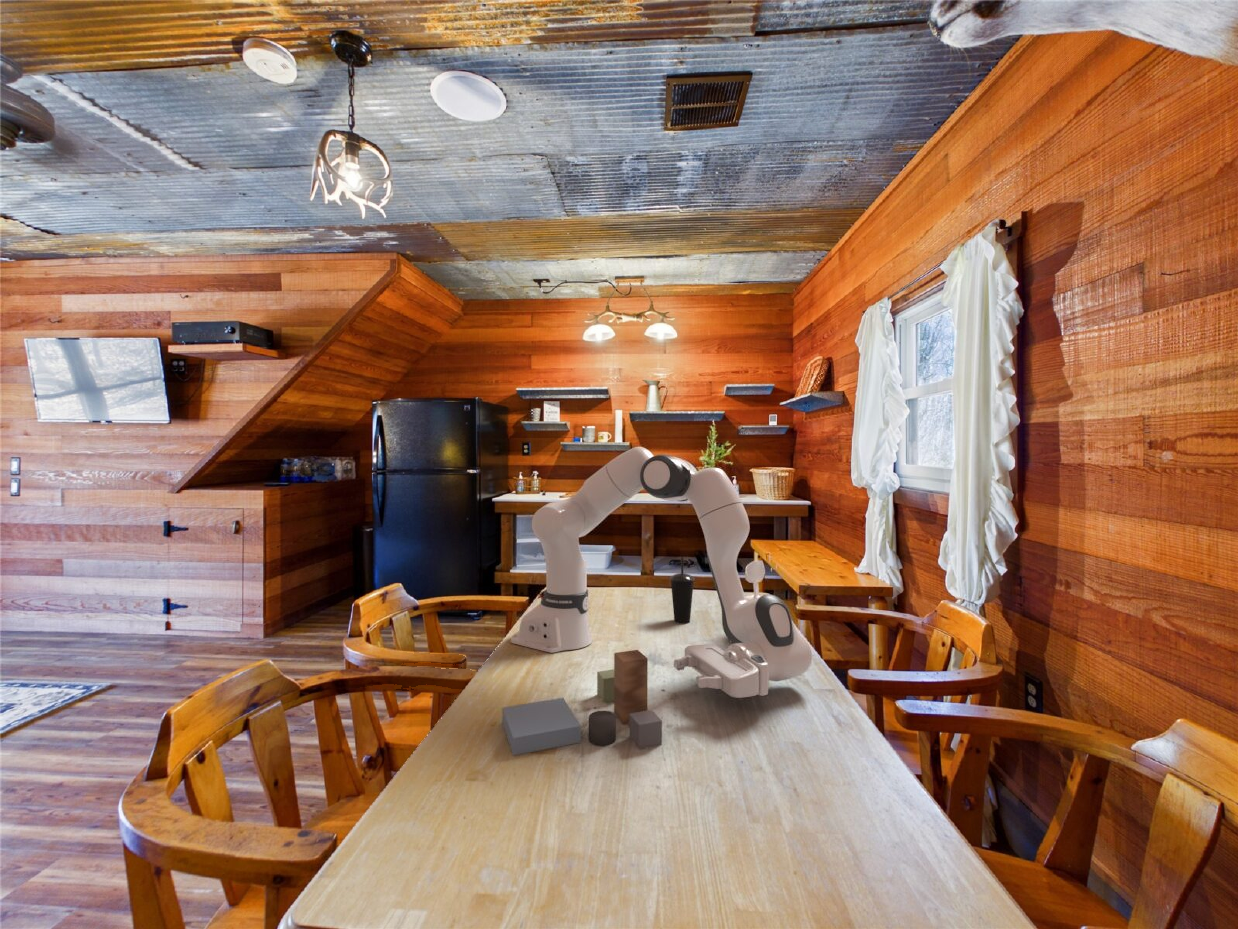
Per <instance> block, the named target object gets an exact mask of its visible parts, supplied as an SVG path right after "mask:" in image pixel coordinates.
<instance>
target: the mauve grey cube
mask: <svg viewBox="0 0 1238 929" xmlns="http://www.w3.org/2000/svg"><path fill="white" fill-rule="evenodd" d="M628 726H629V728H628V729H629V732H628V733H629V734H628V738H629V739H630V740H631V742H633V744H634V745H635V747H636V748H637V749H638V750H644V749H647V748H653V747H657V746H662V744H663V739H662V737H663V733H662V732H663V720H662V719H661V718H660V717H659V716H658V715H657V713H655V711H654V710H653V709H649V710H648V709H647V711H642V712H636V713H631V714H629V725H628Z"/></svg>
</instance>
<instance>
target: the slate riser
mask: <svg viewBox="0 0 1238 929" xmlns="http://www.w3.org/2000/svg"><path fill="white" fill-rule="evenodd" d="M501 708H502V711H501V713H502V716H501V717H502V720H501V722H502V723H501V724H502V726H503V729H504V732H505V734H506V735H505V736H506V738H507V741H508V743H509V747H510V750H511V753H512V755H513V756H518V755H521V754H522V755H525V754H528V753H533V752H539V751H543V750H549V749H554V748H558V747H559V748H560V747H563V746H569V745H575V744H579V743H582V725H581V723H580V722H579V721H578V719H577V717H576V716H575V714H574V713H573V711H572V709H571V708H570V706H569V705H568V703H567V702H566V699H565V698H564V697H560V698H552V699H549V700H548V699H547V700H541V701H535V702H529V703H528V702H527V703H524V704H523V703H522V704H515V705H510V706H504V707H501Z"/></svg>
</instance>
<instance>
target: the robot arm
mask: <svg viewBox="0 0 1238 929" xmlns="http://www.w3.org/2000/svg"><path fill="white" fill-rule="evenodd" d="M643 490H645V492H647V493H648V494H649V495H650V496H652V497H654V498H657V499H660V500H664V501H669V502H688V501H689V503H690V504H691V505H692V507H693V509H694V510H695V513H696V515H697V518H698V521H699V523H700V526H701V529H702V532H703V535H704V540H705V545H706V555H707V557H706V558H707V561H708V567H709V569H710V573H711V576H712V579H713V583H714V587H715V590H716V593H717V597H718V599H719V604H720V607H721V608H720V609H721V621H722V629H723V632H724V634H725V636H726V638H727V639H728V641H730V642H731V644H730V645H728V647H727V649H726V651H725V650H724V649H722V648H720V647H719V646H717V645H714V644H695V645H694V644H693V645H688V646H686V647H685V648H684V656H683V657H681V658H678V659H675V660H673V668H674V669H676V670H677V671H684V670H685V668H686V667H688V668H692V669H694V670H695V671H696V672H697V673H699V674H700V675H697V676H695V685H696V686H697V687H698V688H700V689H705V688H710V689H716V690H718V689H721V691H723V692H724V693H725V694H727V696H729V697H731V698H737V699H742V698H749V697H754V696H757V695H758V696H759V697H763V696H767V695H768V694H769V682H781V681H787V680H790V679H793V678H797V677H800V676H802V675H803V674H805V673H806V672H808V670H809V668H810V667H811V665H812V659H813V652H812V648H811V646H810V643H809V642H808V641H807V639H805V638H804V637H803V636H802V635H801V633H799V631H798V630H797V628H796V626H795V624H794V622H793V619H792V615H791V611H790V609H789V607H788V605H787V604H786V602H785V601H784V600H782V599H781V598H780V597H779V596H777V595H774V594H763V595H759V596H760V597H757V598H754V599H752V600H750V601H747V599H746V598H745V596H746V595H745V592H744V589H743V586H742V582H741V579H740V575H739V572H738V570H737V569H738V568H737V560H738V556H739V553H740V551H741V548H742V547H743V546H744V544H745V542H746V541H747V538H748V536H749V533H750V529H751V528H750V520H749V517H748V512H747V511H746V509H745V505H744V504H743V502H742V499H741V497H740V495H739V493H738V491H737V489H736V488H735V486H734V484H733V483H732V481H731V479H730V477H729V476H728V475H727V473H726V472H725V471H724V470H723V469H721V468H718V467H715V466H714V467H705V468H703V469H701V470H699V469H698V467H697V466H696V465H694V464H693V463H691V462H689V461H687V460H685V459H683V458H680V457H677V456H671V455H669V454H656V455H654V454H653V453H652V452H651V451H650V450H649V449H647V448H645V447H643V446H635V447H632V448H631V449H628V450H626V451H624V452H622V453H621V454H618V455H617V456H616V457H615V458H613V459H611V460H610V461H609V462H607V463H606V464H605V465H604V466H602V467H601V468H599V470H597V471H596V472H595V473H593V474H592V475H591V476H589V477H587V479H586V480H585V481H584V482H583V485H582V486H581V487H580V488H579V489H578V490H577V492H576V493H574V494H573V495H572V496H570V497H569V498H566V499H564V500H559V501H553V502H548V503H547V504H545V505H544V506H542V507H540V508H539V509H537V510H536V511H535V513H534V514H533V516H532V519H531V529H532V531H533V534H534V536H535V537H536V538H537V539H538V540H539V542H540V544H541V547H542V550H543V555H544V558H545V559H544V560H545V572H546V573H545V574H546V575H545V577H546V582H545V583H546V585H545V586H546V588H545V590H543V591H541V592H540V593H539V594H537V596H538V597H537V599H540V603H538V604H537V605H536V606H535V607H534V608H532V609H531V610H530V611H528V612H527V613H526V614H525V615H523V617H522V619H521V620H520V624H519V630H518V631H517V632H515V633H514V634H512V635H511V637H510V643H511V644H515V645H518V646H523V647H527V648H530V649H534V650H538V651H542V652H546V653H551V654H552V653H558V652H562V651H570V650H578V649H582V648H585V647H587V646H589V645H591V644H592V643H593V638H592V634H591V630H590V624H589V616H588V615H589V614H588V610H589V590H588V588H587V582H588V580H587V575H588V574H587V571H588V570H587V560H586V558H584V556H583V553H582V550H581V547H580V541H579V540H580V539H579V538H582V537H585V536H587V534H589V533H590V532H591V531H593V530H594V529H595V528H596V527H598V526H599V524H601V523H602V522H603V521H604V520H605V519H606V518H607V517H608V516H609V515H611V513H613V512H614V511H615V510H616V509H618V508H619V507H621V506H622V505H623V504H625V503H626V502H627V501H628V500H631V499H632V498H633V497H634V496H635V495H637V494H638V493H640V492H641V491H643Z"/></svg>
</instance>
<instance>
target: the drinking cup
mask: <svg viewBox="0 0 1238 929" xmlns="http://www.w3.org/2000/svg"><path fill="white" fill-rule="evenodd" d="M680 558H681V561H680V563H681V564H680V570H681V571H680V572H678V573H675V574H673V575H671V576H670V577H669V579H670V584H671V598H672V607H673V608H672V609H673V610H672V611H673V619H674V623H676V624H688V623H690V622H691V615H692V614H691V613H692V605H693V592H694V582H695V580H696V579H695V577H694V576H693V575H691V574H688V573H684V556H681V557H680Z"/></svg>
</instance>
